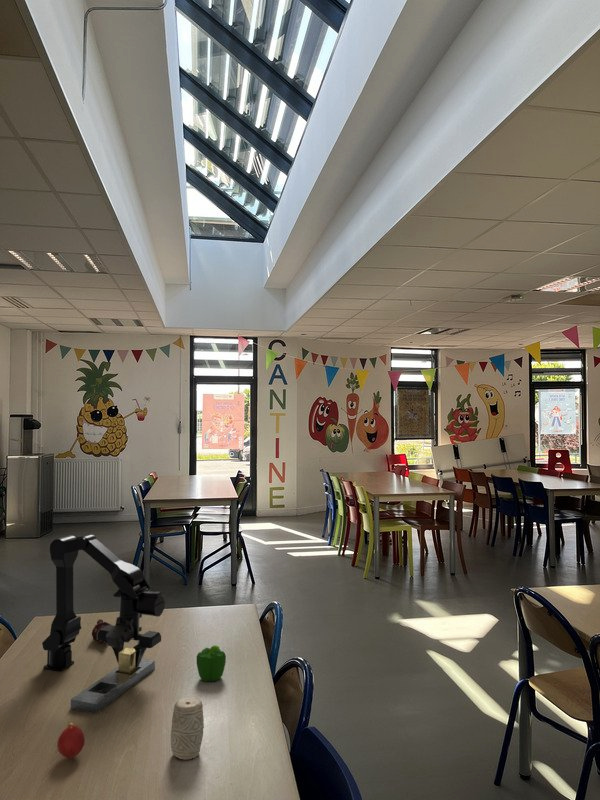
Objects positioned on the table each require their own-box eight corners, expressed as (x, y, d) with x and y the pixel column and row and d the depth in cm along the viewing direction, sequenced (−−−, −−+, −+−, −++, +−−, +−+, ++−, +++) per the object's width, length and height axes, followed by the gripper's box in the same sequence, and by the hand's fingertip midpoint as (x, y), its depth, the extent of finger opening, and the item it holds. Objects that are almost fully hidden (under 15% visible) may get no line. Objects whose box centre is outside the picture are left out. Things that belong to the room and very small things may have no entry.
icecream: (121, 627, 191) (110, 617, 204) (98, 625, 188) (90, 615, 201) (115, 649, 190) (105, 638, 203) (93, 647, 186) (84, 636, 199)
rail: (70, 708, 151) (70, 699, 151) (132, 665, 177) (132, 657, 177) (96, 713, 148) (96, 704, 148) (154, 668, 175) (154, 660, 175)
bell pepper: (191, 676, 170) (192, 643, 170) (215, 669, 175) (216, 636, 175) (204, 687, 163) (205, 652, 164) (229, 680, 168) (230, 645, 169)
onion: (62, 751, 132) (62, 716, 132) (87, 750, 132) (88, 715, 132) (53, 766, 126) (54, 730, 126) (80, 765, 126) (80, 729, 127)
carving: (204, 760, 129) (204, 706, 129) (169, 764, 127) (170, 709, 128) (202, 744, 135) (203, 693, 135) (170, 748, 134) (171, 696, 134)
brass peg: (118, 680, 167) (118, 652, 167) (126, 674, 171) (126, 647, 171) (129, 682, 166) (130, 654, 166) (137, 676, 170) (138, 649, 170)
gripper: (85, 617, 164) (84, 672, 164) (141, 625, 159) (140, 682, 158) (109, 605, 175) (108, 656, 174) (162, 612, 169) (161, 665, 169)
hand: (128, 665), depth 169 cm, fingers open, 6 cm apart
